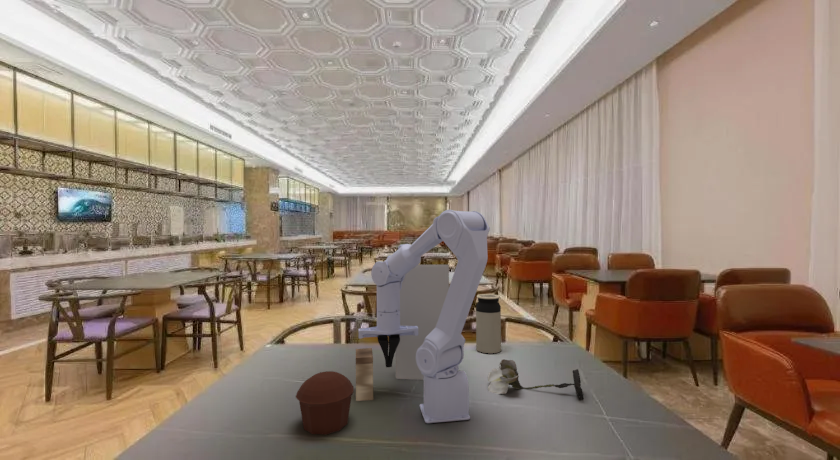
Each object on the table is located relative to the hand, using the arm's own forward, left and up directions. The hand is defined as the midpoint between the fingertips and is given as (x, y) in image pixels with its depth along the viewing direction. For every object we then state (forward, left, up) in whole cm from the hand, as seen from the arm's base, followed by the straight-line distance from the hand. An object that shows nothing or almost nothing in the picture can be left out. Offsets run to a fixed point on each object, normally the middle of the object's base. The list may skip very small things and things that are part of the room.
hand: (388, 365), depth 93 cm
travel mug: (-35, -27, -7) cm, 45 cm away
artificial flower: (-34, +7, -7) cm, 36 cm away
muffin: (+14, +13, -7) cm, 20 cm away
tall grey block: (-10, -9, -7) cm, 15 cm away
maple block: (+6, 0, -6) cm, 9 cm away
